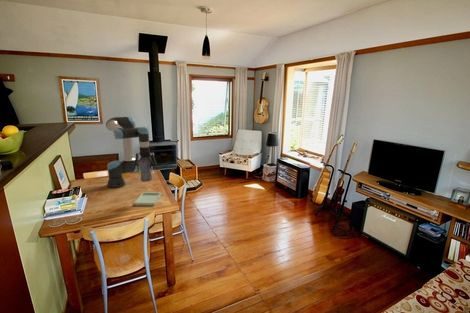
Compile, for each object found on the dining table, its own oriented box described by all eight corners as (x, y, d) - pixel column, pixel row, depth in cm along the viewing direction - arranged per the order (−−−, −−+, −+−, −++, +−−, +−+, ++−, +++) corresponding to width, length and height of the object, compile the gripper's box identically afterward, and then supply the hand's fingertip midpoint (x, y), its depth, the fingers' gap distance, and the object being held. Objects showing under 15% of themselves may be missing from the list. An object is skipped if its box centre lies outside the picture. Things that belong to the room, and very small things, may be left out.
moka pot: (135, 180, 194) (133, 156, 189) (153, 176, 205) (151, 153, 200) (140, 183, 188) (138, 159, 183) (158, 179, 199) (157, 155, 193)
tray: (142, 194, 211) (142, 192, 210) (161, 194, 212) (161, 192, 211) (134, 205, 191) (133, 202, 190) (154, 205, 192) (154, 203, 191)
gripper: (128, 147, 185) (130, 174, 191) (157, 147, 186) (158, 175, 192) (132, 145, 193) (134, 171, 198) (159, 145, 194) (161, 172, 199)
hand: (146, 173), depth 195 cm, fingers closed on moka pot, 9 cm apart
